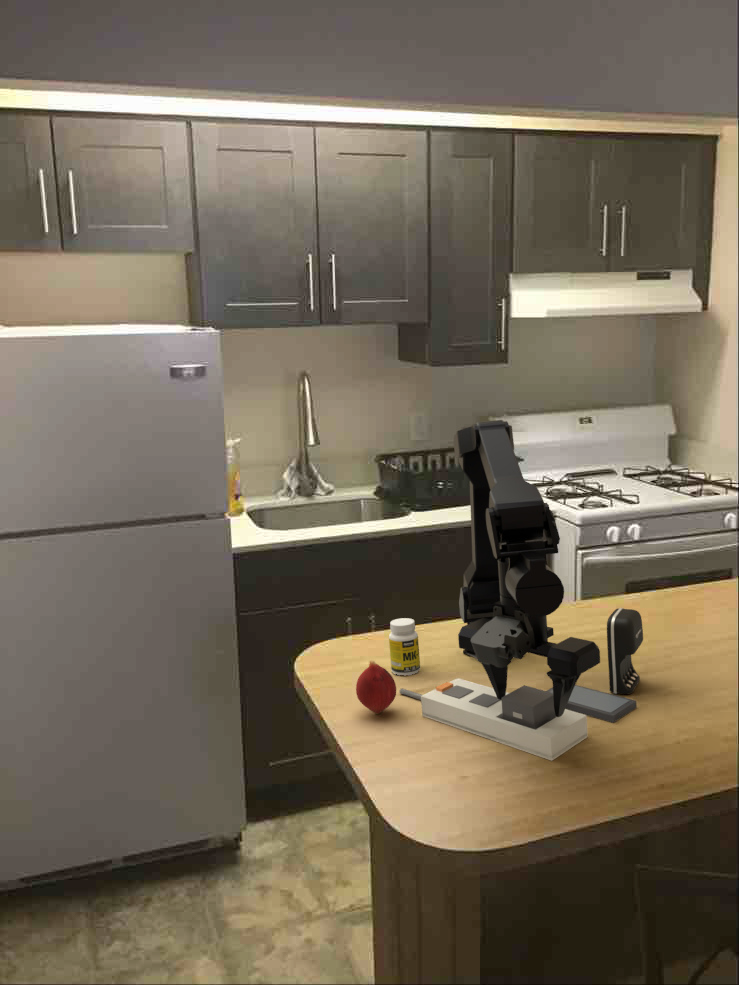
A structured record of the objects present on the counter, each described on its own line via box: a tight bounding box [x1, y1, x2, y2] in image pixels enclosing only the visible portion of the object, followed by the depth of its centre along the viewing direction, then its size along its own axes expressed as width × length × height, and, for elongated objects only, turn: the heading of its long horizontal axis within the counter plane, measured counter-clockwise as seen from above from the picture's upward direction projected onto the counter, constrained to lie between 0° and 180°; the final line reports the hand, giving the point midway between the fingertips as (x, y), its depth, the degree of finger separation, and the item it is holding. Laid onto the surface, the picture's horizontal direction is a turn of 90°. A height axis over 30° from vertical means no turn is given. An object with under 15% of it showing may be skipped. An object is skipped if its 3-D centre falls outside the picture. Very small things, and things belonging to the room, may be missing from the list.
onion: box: [355, 659, 397, 715], centre depth 121 cm, size 6×6×8 cm
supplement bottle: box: [388, 617, 421, 677], centre depth 137 cm, size 5×5×8 cm
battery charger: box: [606, 607, 644, 695], centre depth 122 cm, size 7×4×11 cm, turn 150°
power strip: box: [399, 677, 588, 761], centre depth 117 cm, size 30×8×3 cm, turn 43°
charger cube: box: [501, 684, 556, 730], centre depth 110 cm, size 5×5×5 cm
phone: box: [546, 684, 637, 724], centre depth 116 cm, size 12×12×1 cm
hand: (529, 707), depth 110 cm, fingers open, 9 cm apart
